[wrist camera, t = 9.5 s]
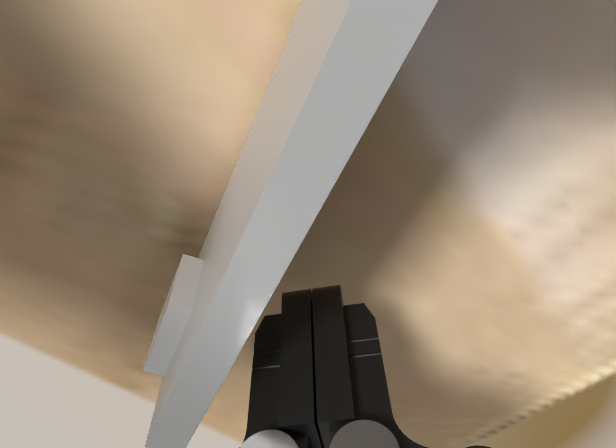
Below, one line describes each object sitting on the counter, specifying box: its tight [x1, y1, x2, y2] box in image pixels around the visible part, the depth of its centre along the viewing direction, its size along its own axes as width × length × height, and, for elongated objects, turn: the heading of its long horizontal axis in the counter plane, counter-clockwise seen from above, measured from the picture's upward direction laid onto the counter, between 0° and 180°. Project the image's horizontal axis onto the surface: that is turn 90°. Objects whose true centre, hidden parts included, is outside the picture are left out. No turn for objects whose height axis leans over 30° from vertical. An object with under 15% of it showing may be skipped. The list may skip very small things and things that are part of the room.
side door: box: [143, 0, 438, 448], centre depth 8 cm, size 12×2×5 cm, turn 156°
